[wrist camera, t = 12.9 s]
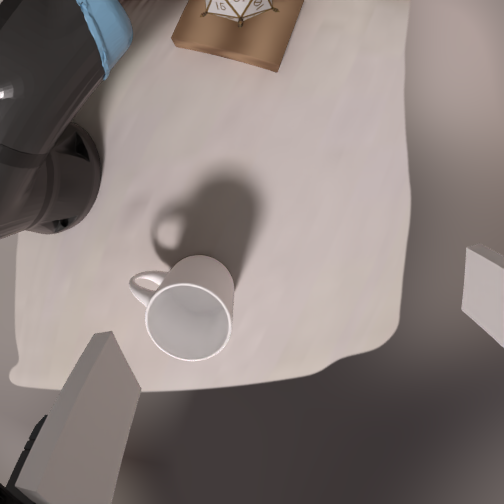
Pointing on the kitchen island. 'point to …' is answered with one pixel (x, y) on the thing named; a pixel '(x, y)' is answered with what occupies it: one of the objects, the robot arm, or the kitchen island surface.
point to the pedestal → (239, 33)
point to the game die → (237, 9)
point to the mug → (189, 307)
